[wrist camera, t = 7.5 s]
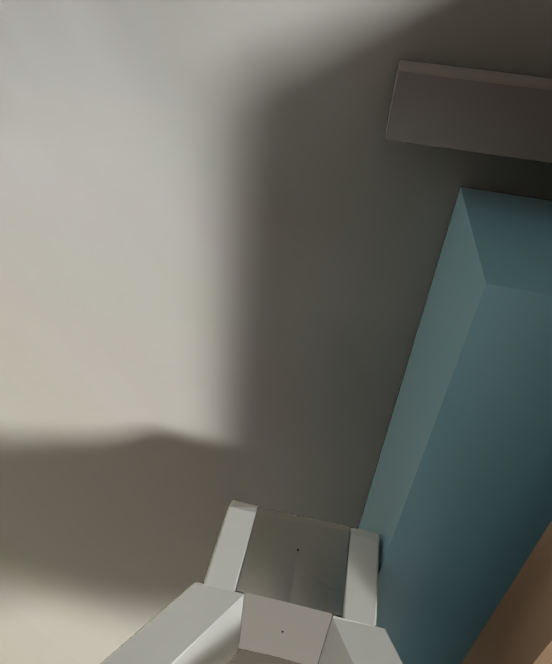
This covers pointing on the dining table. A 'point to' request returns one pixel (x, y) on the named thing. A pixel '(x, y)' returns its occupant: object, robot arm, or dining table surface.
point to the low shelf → (511, 141)
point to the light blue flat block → (468, 433)
